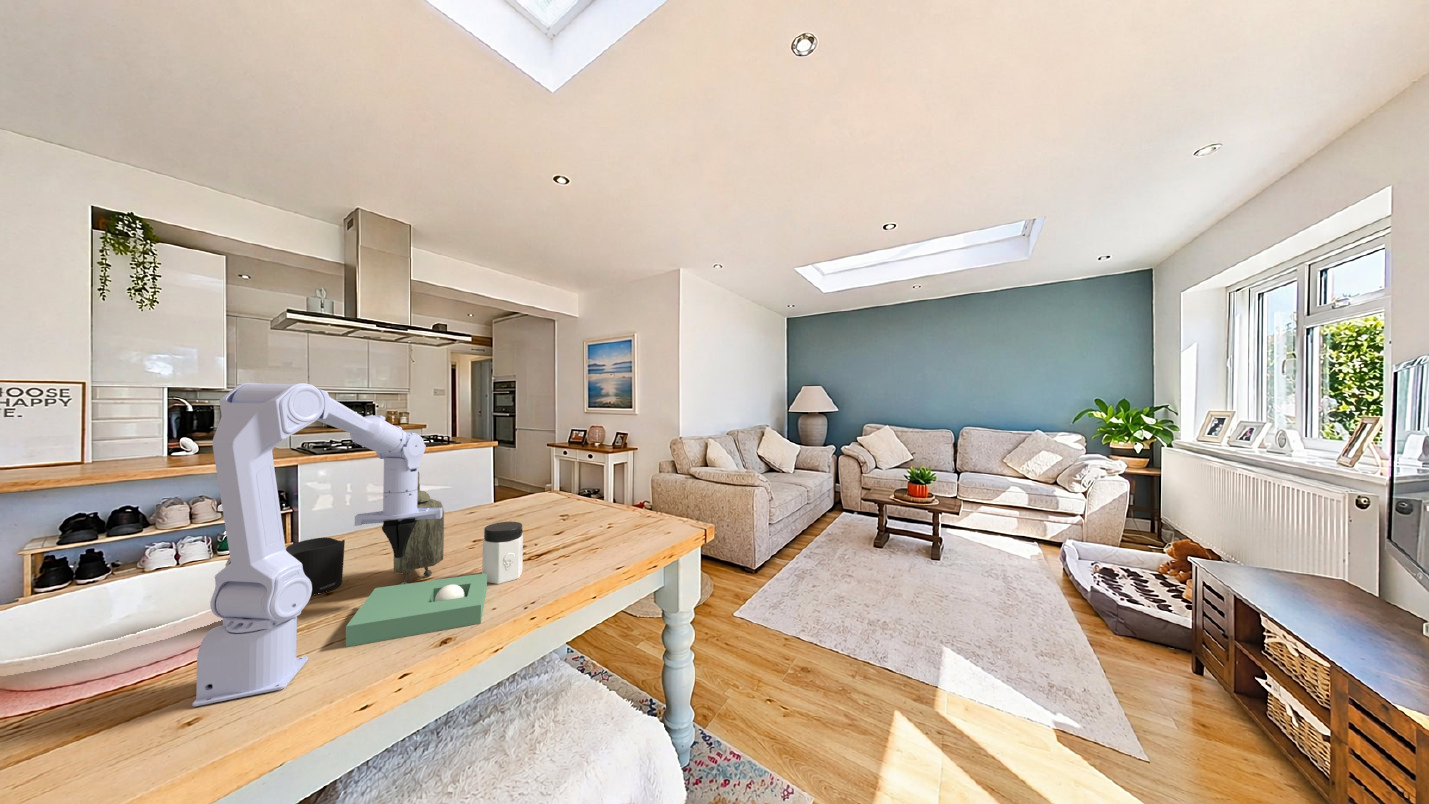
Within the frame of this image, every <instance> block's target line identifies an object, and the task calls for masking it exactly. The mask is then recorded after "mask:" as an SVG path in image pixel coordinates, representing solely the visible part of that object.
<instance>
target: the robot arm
mask: <svg viewBox="0 0 1429 804" xmlns="http://www.w3.org/2000/svg"><path fill="white" fill-rule="evenodd" d="M218 402H219V406H220V407H219V408H220V414H221V417H220V420H219V422H218V425H217V428H216V430H215V433H214V435H213V438H212V450H213V451H212V452H213V455H214V456H213V457H214V464H215V471H216V476H217V482H218V483H217V484H218V487H219V488H218V491H219V495H220V501H221V502H220V503H221V509H222V514H223V521H224V527H225V528H224V529H225V534H226V539H227V541H226V542H227V545H228V546H227V547H228V552H229V558H230V560H231V563H230V564H229V565H228V566H226V565H225V567H224V568H222V569H221V570H220V571H218V572H217V573H216V574H215V575H214V580H215V581H214V583H215V588H214V591H213V594H212V597H211V599H210V611H211V612H212V614H213V615H214V616H216V617H217V618H221V619H222V625H217V626H216V627H213V628H211V629H210V630H209V631H208V632H207V633H206V634H205V636H203V638H202V641H201V642H200V644H199V647H198V651H197V656H196V658H197V659H196V694H195V696H196V699H195V700H194V701H193V702H192V707H198V706H203V705H209V704H213V703H218V702H223V701H229V700H235V699H238V698H239V699H240V698H244V697H249V696H254V695H260V694H264V693H270V692H274V691H280V690H283V689H285V688H286V687H287V686H288V685H289V684H290V683H291V681H292V680H293V679H294V677H295V676H296V675H297V674H298V672H299V671H300V670H301V669H302V668H303V666H304V665H305V664H306V663H307V661H309V656H307V655H306V656H301V657H297V643H298V642H297V641H298V640H297V637H298V636H297V635H298V633H297V631H298V629H297V628H298V616H300V615H301V614H302V611H303V610H304V609H305V607H306V606H307V604H308V603H309V601H310V599H311V597H312V596H311V593H312V584H311V581H310V579H309V578H308V577H307V576H306V575H305V574H304V572H303V566H302V563H301V562H299V561H298V560H297V559H296V558H294V557H293V556H292V555H290V554H289V553H288V552H287V551H286V542H285V535H284V529H283V527H284V526H283V520H282V512H281V507H280V497H279V492H278V485H277V484H278V483H277V477H276V472H275V471H276V469H275V462H274V457H273V450H274V449H275V447H276V446H277V445H278V444H280V443H281V442H282V441H283V440H285V439H287V438H289V437H291V436H293V435H295V434H296V433H298V432H299V431H301V430H303V429H305V428H307V427H308V426H310V425H311V424H313V423H315V422H320V423H323V424H325V425H328V426H330V427H334V428H336V429H338V430H342V431H344V432H346V433H349V436H350V439H351V441H352V442H353V443H354V444H357V445H360V446H362V447H364V448H366V449H369V450H371V451H374V452H375V453H376V456H377V458H379V459H381V460H383V485H382V486H383V491H382V492H383V493H382V496H383V499H382V510H380V511H372V512H364V513H363V512H362V513H357V514H356V515H355V516H354V527H358V526H362V525H369V524H372V525H373V524H381V523H382V526H381V530H382V532H383V534H384V535H385V537H386V538H387V540H388V541H389V543H390V546H391V548H392V552H393V559H394V558H401V557H403V556H404V555H405V551H406V546H407V543H408V540H409V537H410V535H411V532H412V530H413V528H414V526H415V524H416V523H417V520H420V519H432V518H435V519H441V518H442V508H417V498H418V472H419V468H420V467H421V465H422V457H423V455H424V453H425V451H426V446H427V445H426V444H425V441H424V438H423V437H422V436H420V435H419V434H418V433H416V432H406V431H405V430H403V427H401V426H399V425H393V424H392V423H390V422H388V421H386V417H385V416H383V415H377V414H375V415H367V416H366V415H365V416H362V415H361V414H360V413H358V412H357V411H354V410H353V409H351V408H349V407H347V406H346V405H344V404H343V403H340V402H339V401H337V400H336V399H335V398H332V397H331V396H330V395H329V392H328V391H326V390H323V389H320V388H317V387H316V386H314V385H313V384H311V383H310V384H309V383H305V382H304V383H291V384H290V383H260V382H244V383H241V384H239V385H237V386H235V387H233V389H231V390H230V391H228V392H227V393H226V395H223V396H222V397H221V398H220V399H219V401H218Z"/></svg>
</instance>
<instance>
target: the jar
mask: <svg viewBox="0 0 1429 804" xmlns="http://www.w3.org/2000/svg"><path fill="white" fill-rule="evenodd" d="M483 531H484V532H483V535H484V536H483V539H484V540H482V560H481V561H482V567H481V568H482V571H481V572H482V573H481V574H484V573H487V584H496V585H501V584H504V583H508V582H511V581H515V580H518V579H520V577H521V576H522V575H521V574H522V573H523V562H524V561H523V559H524V558H523V556H524V554H523V551H524V549H523V548H524V547H523V546H524V534H523V524H522V523H521V522H517V521H501V522H495V523H492V524H488V525H486V526H485V527H484V529H483Z"/></svg>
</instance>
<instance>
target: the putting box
mask: <svg viewBox="0 0 1429 804" xmlns="http://www.w3.org/2000/svg"><path fill="white" fill-rule="evenodd" d="M452 584H454V585H458V586H460V587H461V588H462V589H463V591H464V597H462V598H455V599H449V600H442V601H435V597H436V595H437V593H438V592H439V590H440V589H442V588H443V587H445V586H447V585H452ZM487 588H488V582H487V573H484V574H482V573H477V574H476V573H475V574H470V575H463V576H454V577H448V578H439V579H434V580H433V579H432V580H425V581H424V580H423V581H417V582H411V583H408V584H402V585H400V584H397V585H387V586H380V587H375V588H374V589H373V590H372V592H371V593H370V595H369V596H368V597H367V598H366V599H365V601H364V602H363V604H362V605H361V606H360V608H358V610H357V611H356V612H355V614H354V615H353V617H352V618H351V619H350V620H349V622H348V623H347V624H346V626H345V647H346V648H348V647H354V646H359V645H366V644H371V643H377V642H382V641H383V642H384V641H387V640H388V641H389V640H394V639H399V638H406V637H411V636H416V635H422V634H428V633H433V632H439V631H446V630H451V629H455V628H463V627H468V626H474V625H479V624H481V623H482V617H483V611H484V607H485V601H486V597H487V596H486V595H487V592H488V591H487V590H488V589H487Z"/></svg>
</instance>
